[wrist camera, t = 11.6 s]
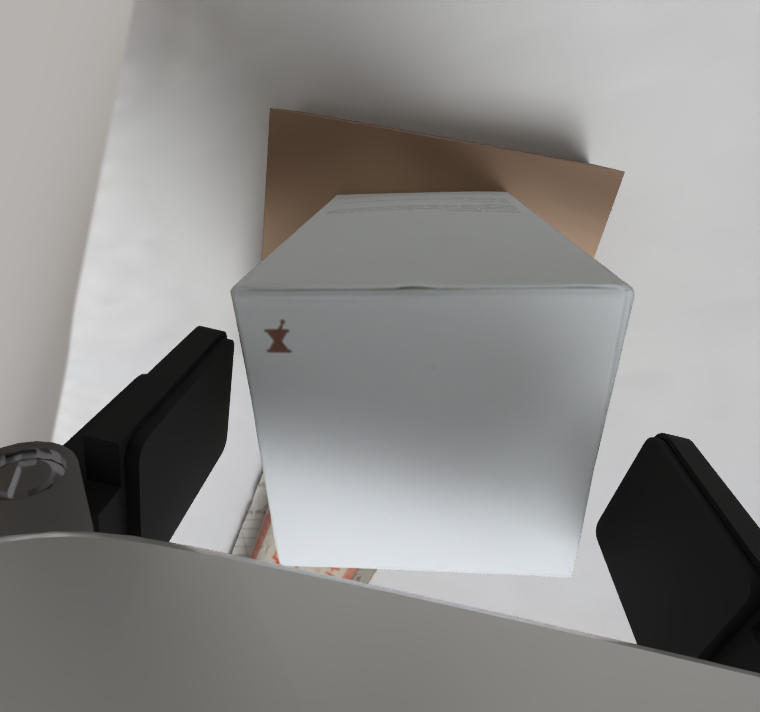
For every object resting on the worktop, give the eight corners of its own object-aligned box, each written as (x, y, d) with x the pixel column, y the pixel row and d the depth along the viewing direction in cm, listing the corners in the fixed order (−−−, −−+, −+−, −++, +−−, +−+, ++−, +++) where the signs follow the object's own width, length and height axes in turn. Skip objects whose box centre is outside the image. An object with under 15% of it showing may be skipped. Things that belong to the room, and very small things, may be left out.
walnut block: (299, 111, 23) (270, 108, 19) (585, 162, 23) (624, 171, 19) (279, 366, 30) (253, 410, 25) (506, 407, 30) (522, 458, 25)
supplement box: (342, 353, 23) (265, 573, 12) (333, 190, 20) (216, 277, 9) (500, 356, 23) (577, 590, 11) (516, 188, 20) (646, 280, 8)
